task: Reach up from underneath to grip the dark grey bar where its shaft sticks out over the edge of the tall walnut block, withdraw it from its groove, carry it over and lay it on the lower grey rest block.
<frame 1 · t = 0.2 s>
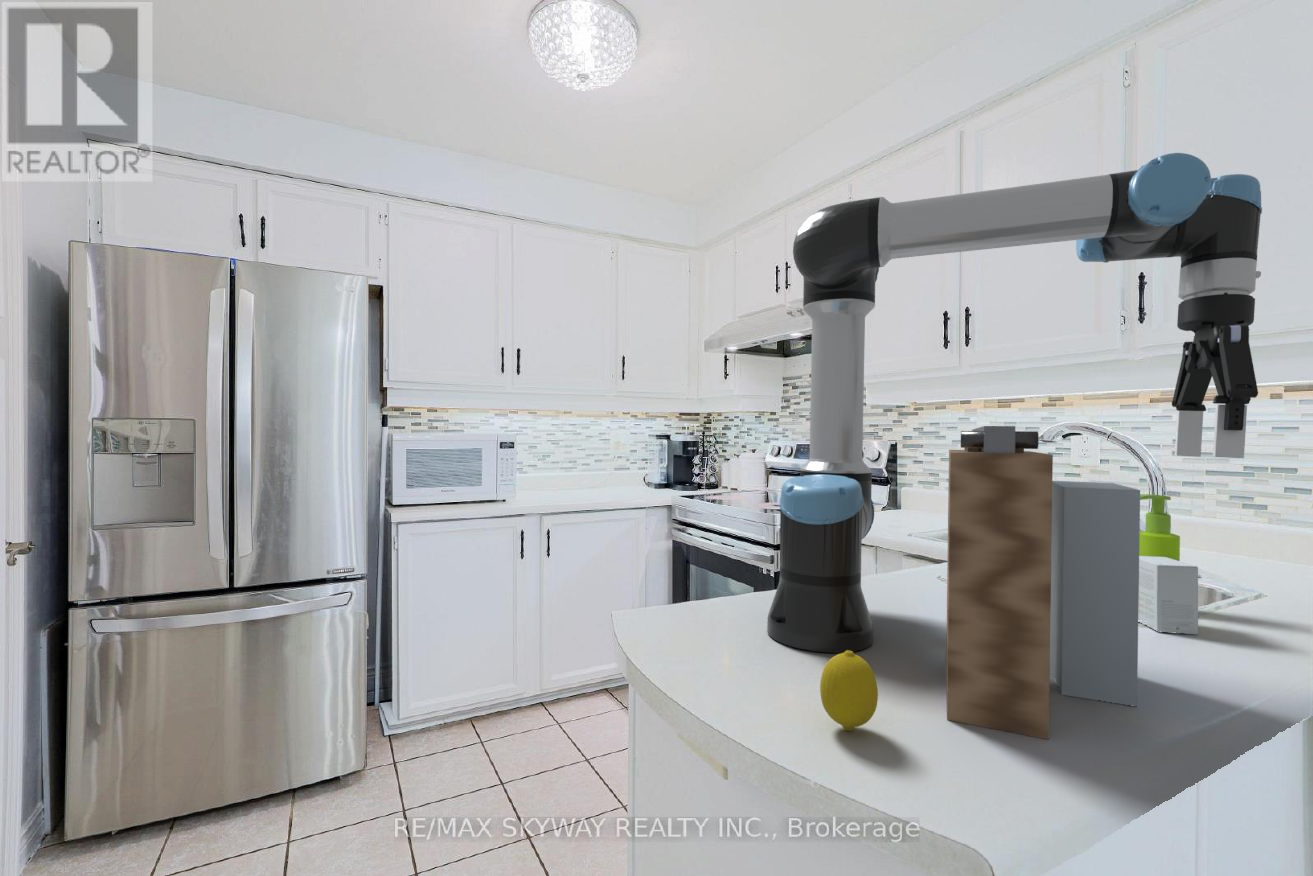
hand: (1206, 457, 80), 27 cm above the counter, tool pointing down, fingers open, 13 cm apart
walnut stand: (989, 695, 69), on the counter
dark grey bar: (989, 450, 74), point 28 cm above the counter, touching walnut stand
small box: (1161, 627, 96), on the counter
lemon: (848, 732, 60), on the counter
rest block: (1086, 681, 73), on the counter
soap dispenser: (1153, 609, 106), on the counter
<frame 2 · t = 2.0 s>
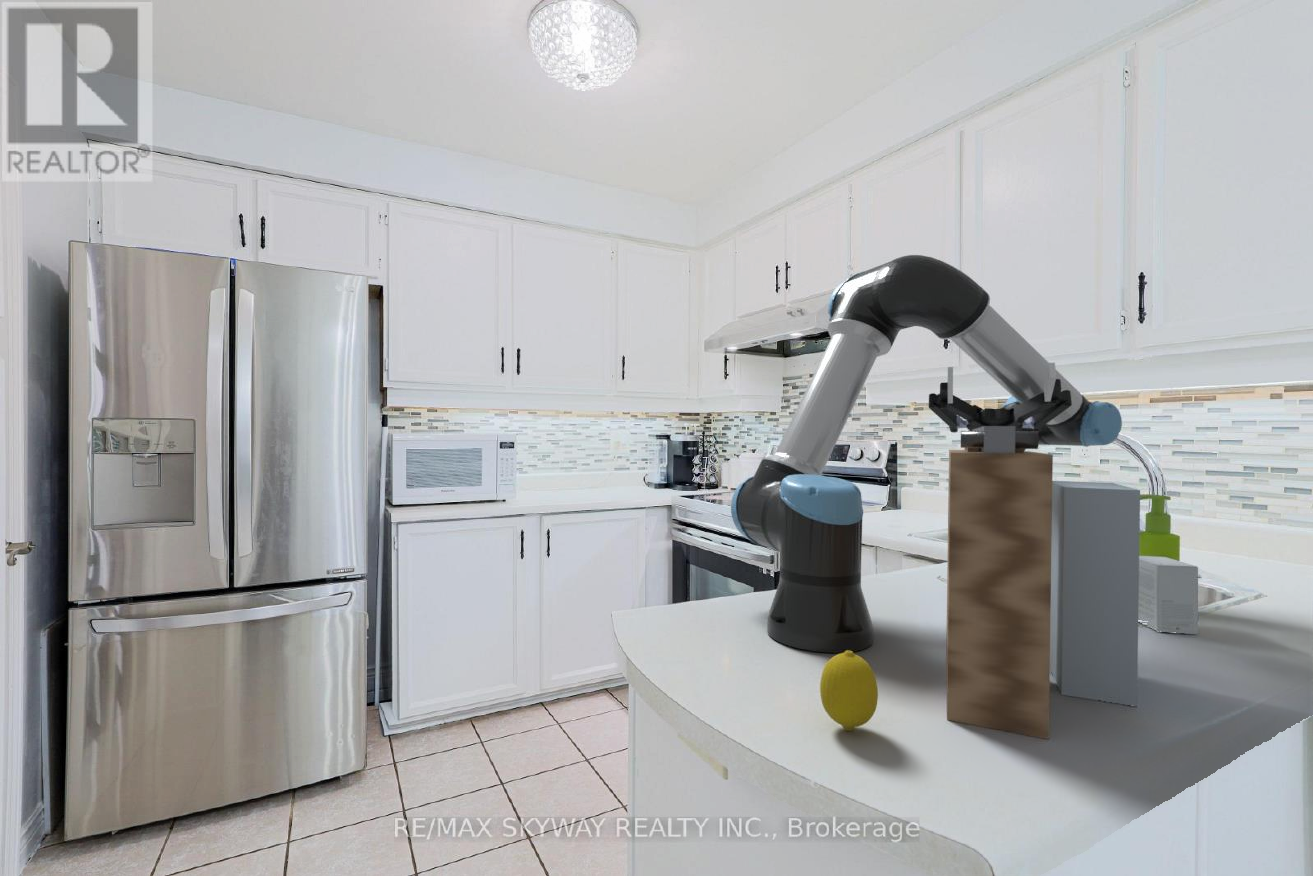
hand: (999, 371, 92), 40 cm above the counter, tool pointing upward, fingers open, 13 cm apart
nothing on the counter moved.
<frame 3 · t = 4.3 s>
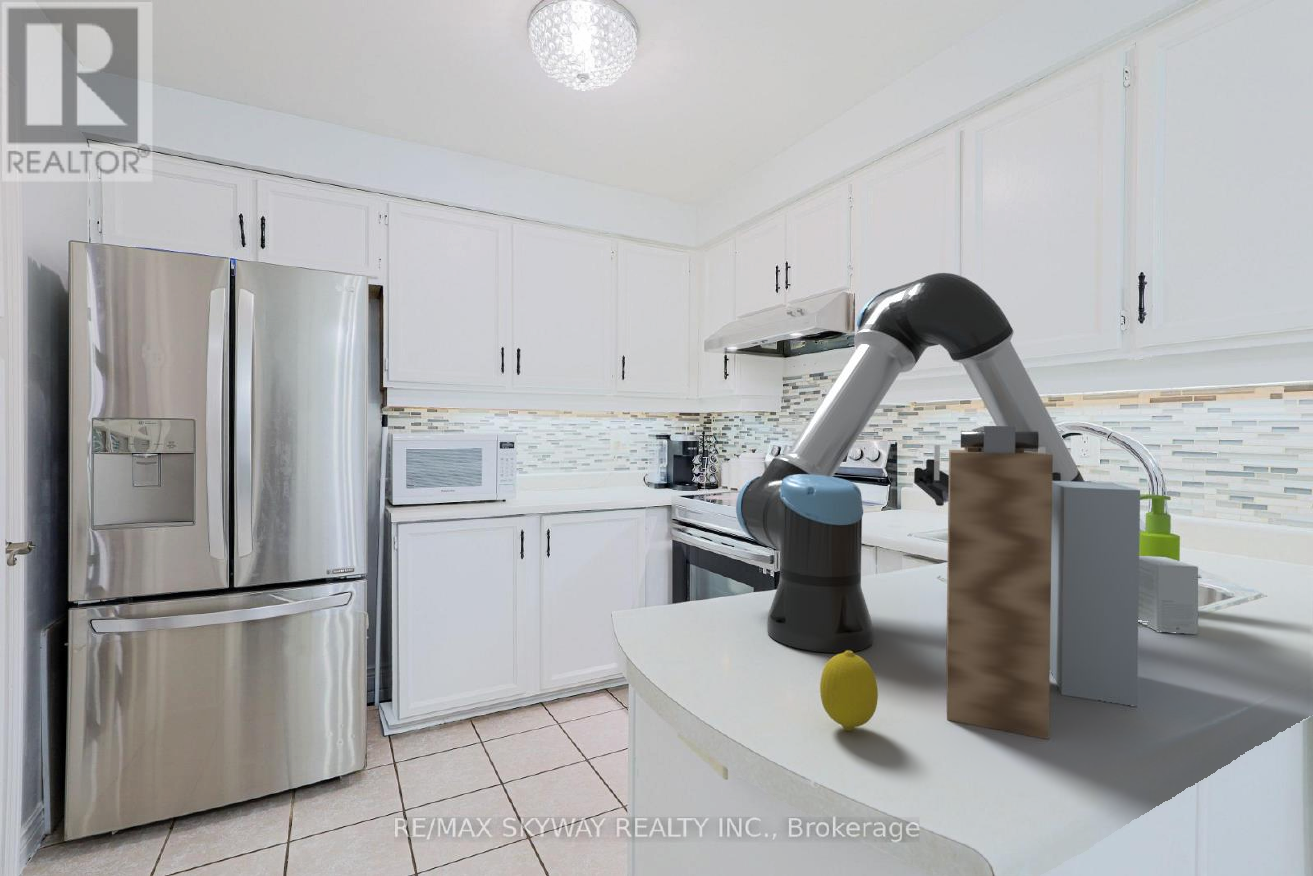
hand: (988, 453, 88), 27 cm above the counter, tool pointing upward, fingers open, 13 cm apart
nothing on the counter moved.
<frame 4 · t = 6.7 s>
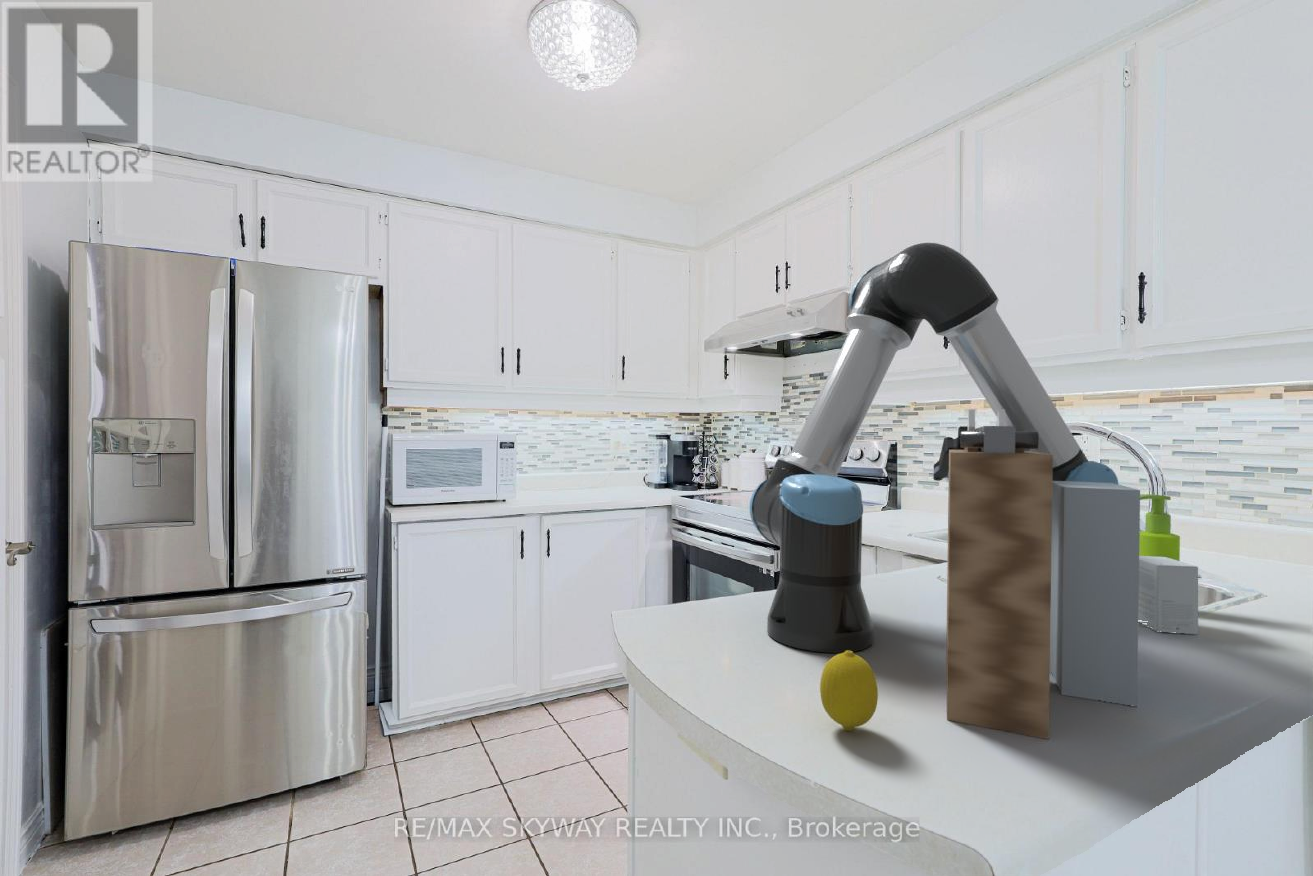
hand: (986, 418, 80), 32 cm above the counter, tool pointing upward, fingers closed on dark grey bar, 3 cm apart
dark grey bar: (989, 450, 74), point 28 cm above the counter, touching gripper, walnut stand
everything else where it was.
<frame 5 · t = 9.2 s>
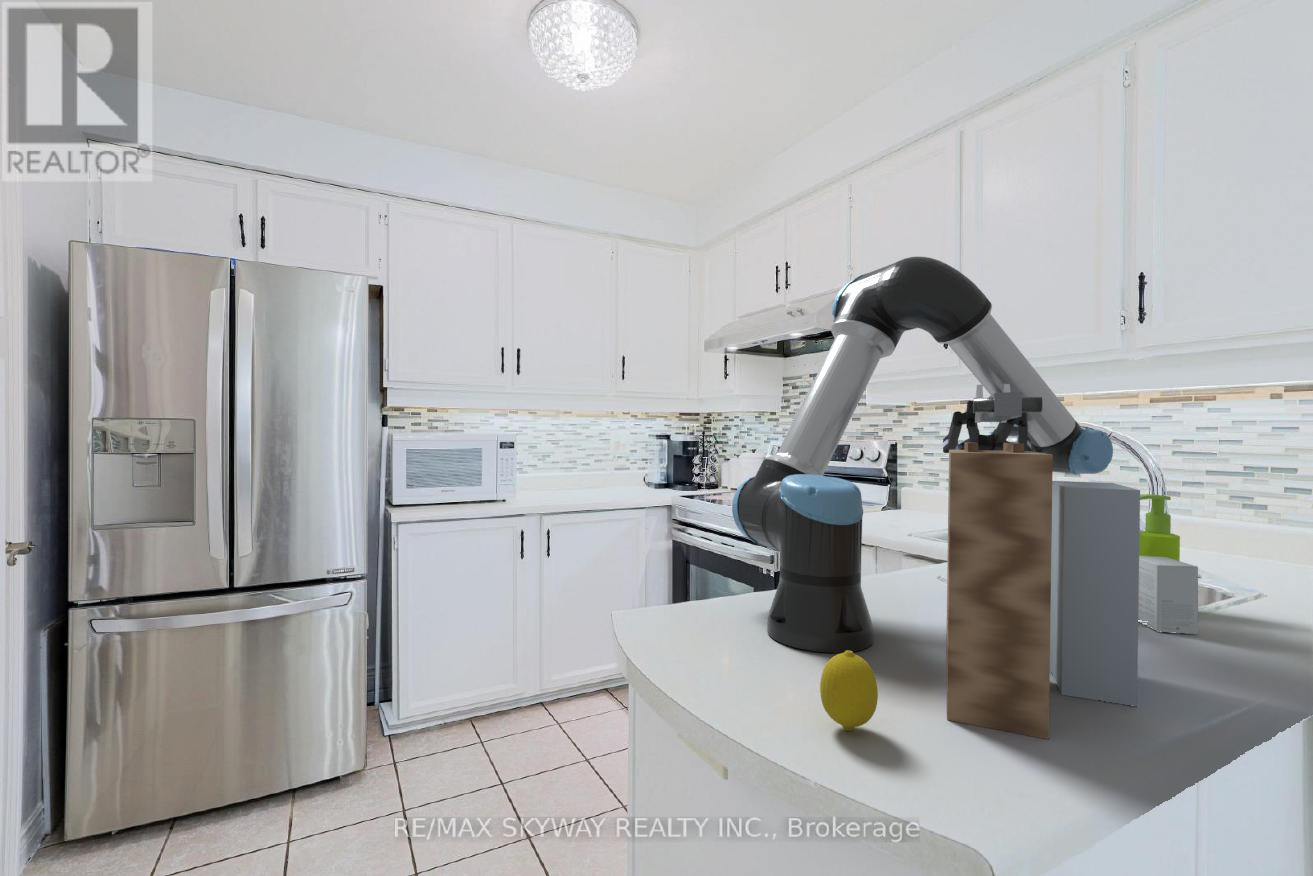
hand: (993, 392, 89), 36 cm above the counter, tool pointing upward, fingers closed on dark grey bar, 3 cm apart
dark grey bar: (996, 419, 83), point 32 cm above the counter, touching gripper
everything else where it was.
when the fingers open (29 cm above the counter, at t = 12.0 s): dark grey bar stays where it is, resting on rest block.
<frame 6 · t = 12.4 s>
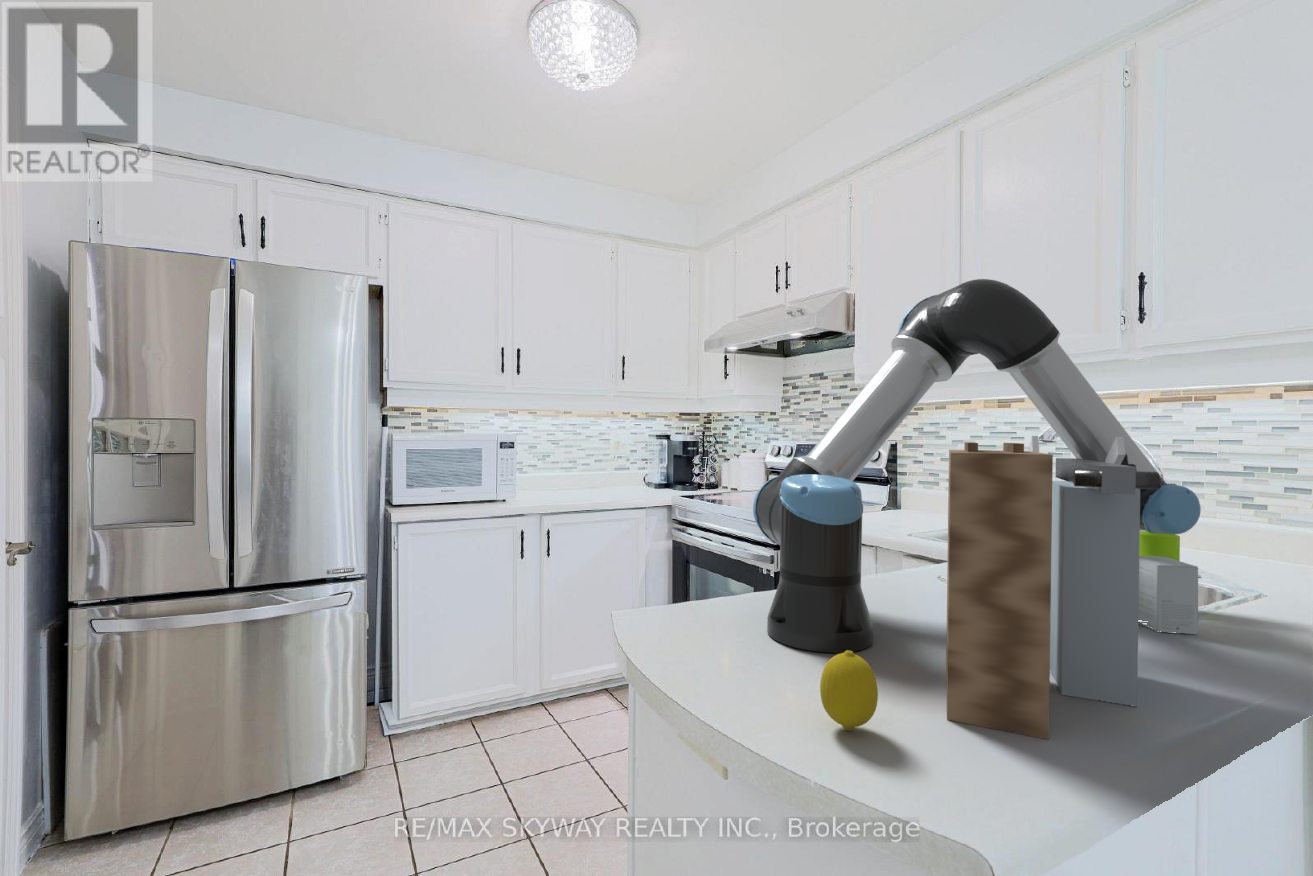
hand: (1077, 445, 81), 29 cm above the counter, tool pointing upward, fingers open, 9 cm apart
dark grey bar: (1088, 484, 74), point 24 cm above the counter, touching rest block
everything else where it was.
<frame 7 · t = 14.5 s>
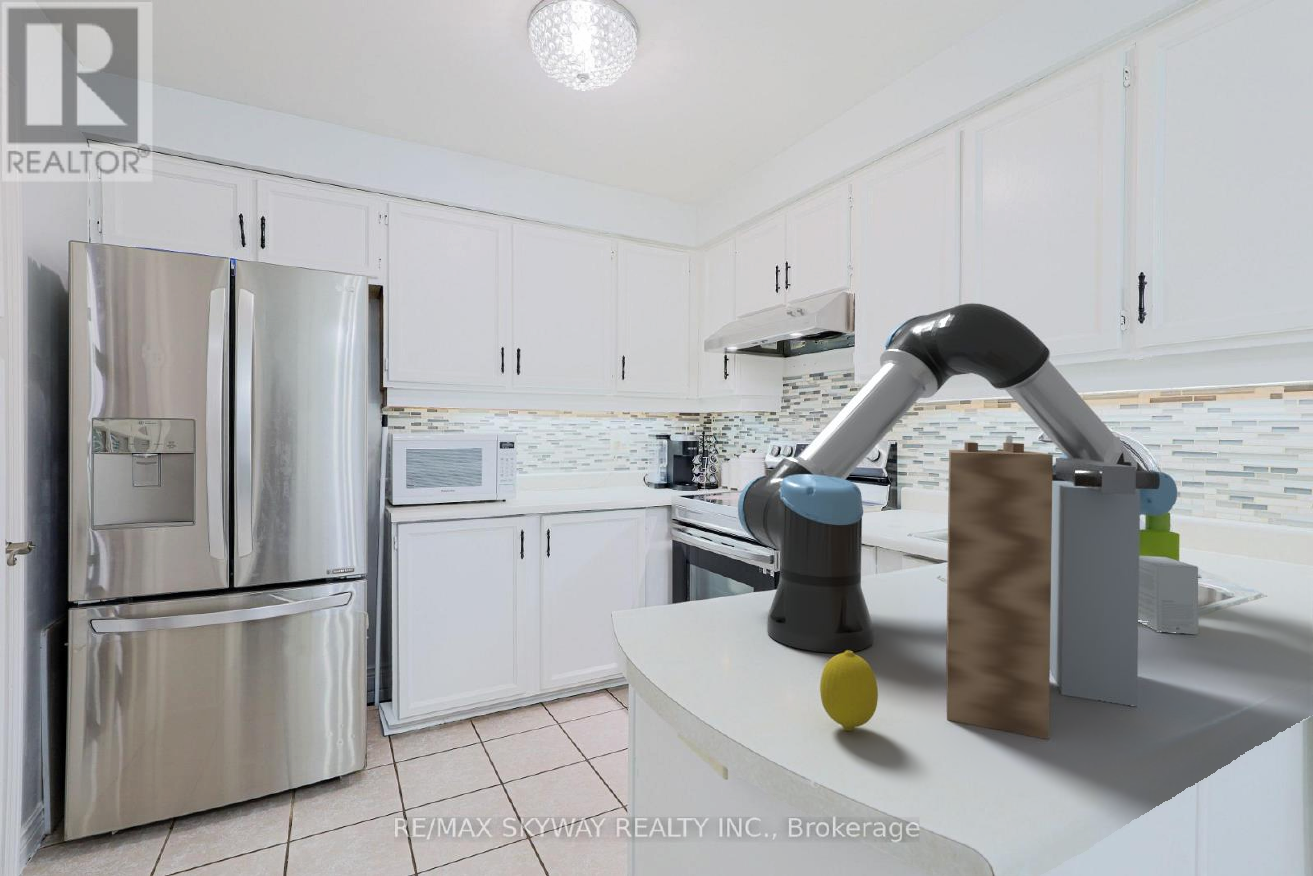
hand: (1061, 443, 91), 29 cm above the counter, tool pointing upward, fingers open, 13 cm apart
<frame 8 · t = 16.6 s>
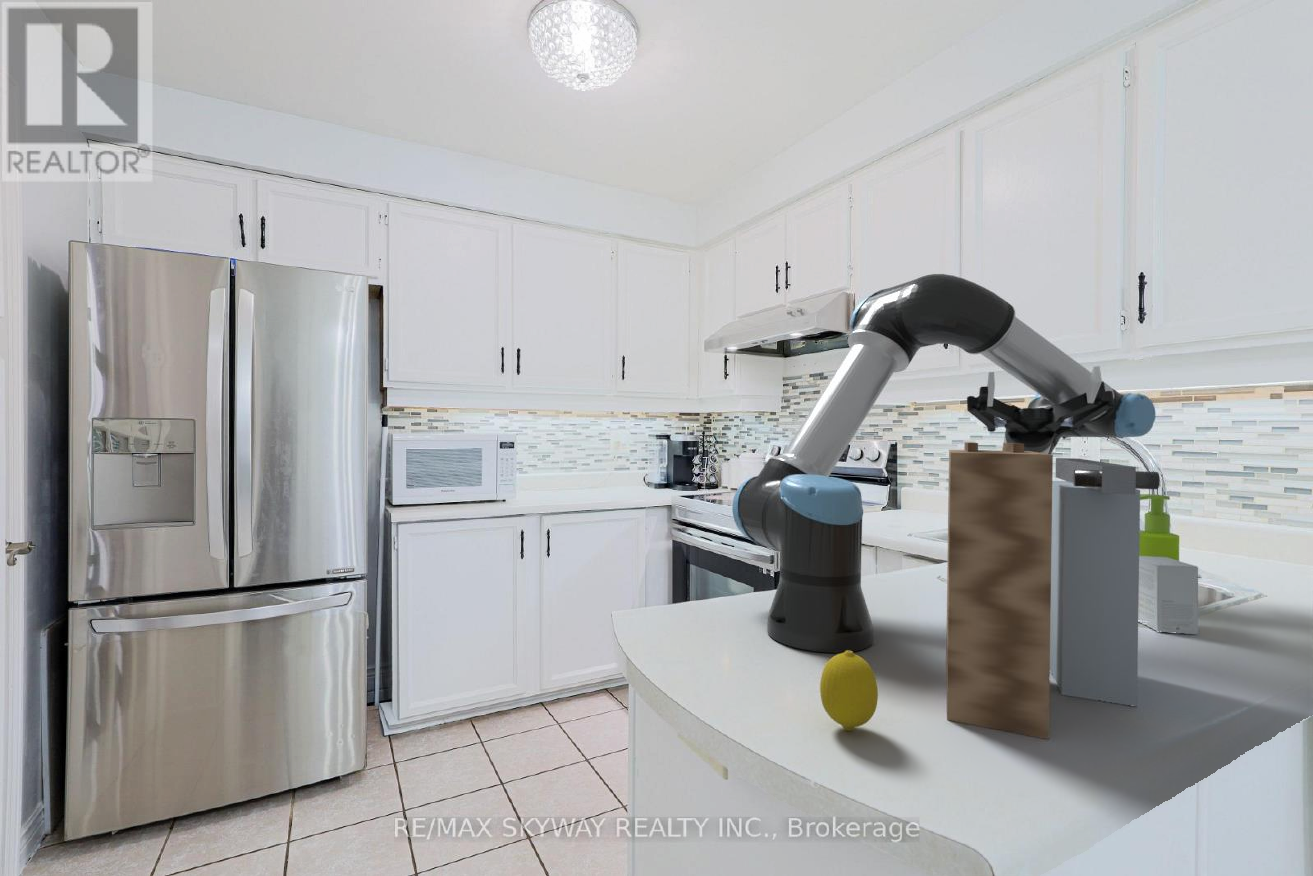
hand: (1043, 376, 93), 39 cm above the counter, tool pointing upward, fingers open, 13 cm apart
at the end: dark grey bar inside the target area (0.5 cm from its centre), point 24.0 cm above the counter; dark grey bar tilted 0°; the gripper is holding nothing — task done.
